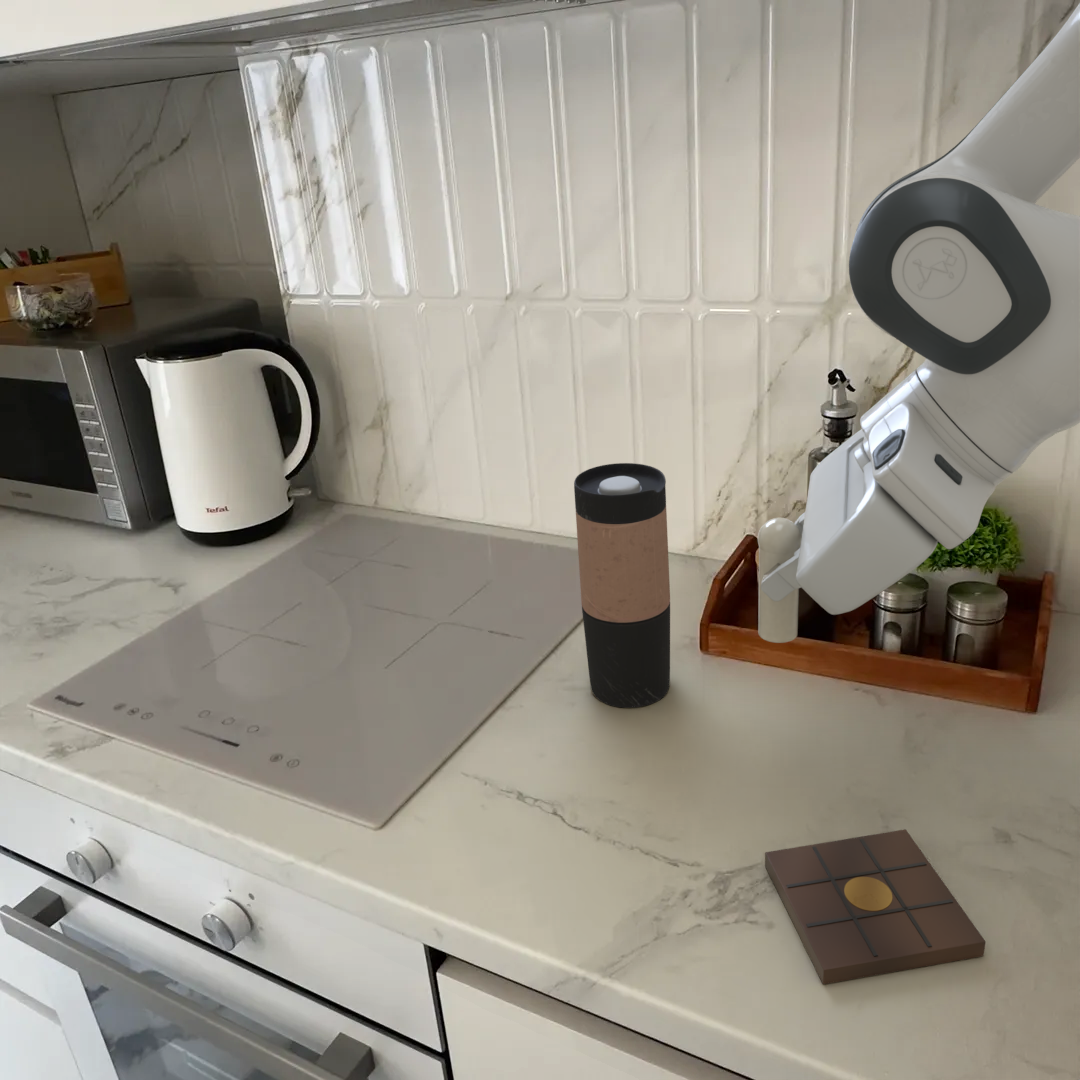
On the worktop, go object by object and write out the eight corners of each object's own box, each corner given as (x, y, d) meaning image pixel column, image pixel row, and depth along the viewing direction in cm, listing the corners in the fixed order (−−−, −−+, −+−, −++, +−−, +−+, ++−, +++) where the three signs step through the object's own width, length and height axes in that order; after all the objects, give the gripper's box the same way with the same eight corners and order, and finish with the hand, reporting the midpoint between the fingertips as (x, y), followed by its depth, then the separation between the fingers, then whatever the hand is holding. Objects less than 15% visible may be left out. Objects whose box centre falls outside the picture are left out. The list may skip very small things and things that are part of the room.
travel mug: (576, 674, 90) (560, 472, 82) (652, 656, 92) (644, 456, 84) (605, 718, 84) (591, 502, 75) (687, 697, 85) (681, 484, 77)
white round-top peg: (790, 621, 73) (793, 508, 69) (805, 641, 70) (808, 524, 67) (751, 626, 73) (752, 513, 69) (764, 646, 70) (765, 529, 66)
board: (904, 842, 67) (905, 828, 67) (983, 956, 58) (986, 940, 58) (764, 865, 66) (764, 851, 66) (823, 985, 57) (823, 969, 57)
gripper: (889, 374, 72) (753, 494, 79) (897, 470, 54) (720, 614, 61) (949, 433, 72) (809, 547, 79) (977, 547, 54) (792, 681, 61)
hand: (770, 577), depth 70 cm, fingers closed on white round-top peg, 3 cm apart
